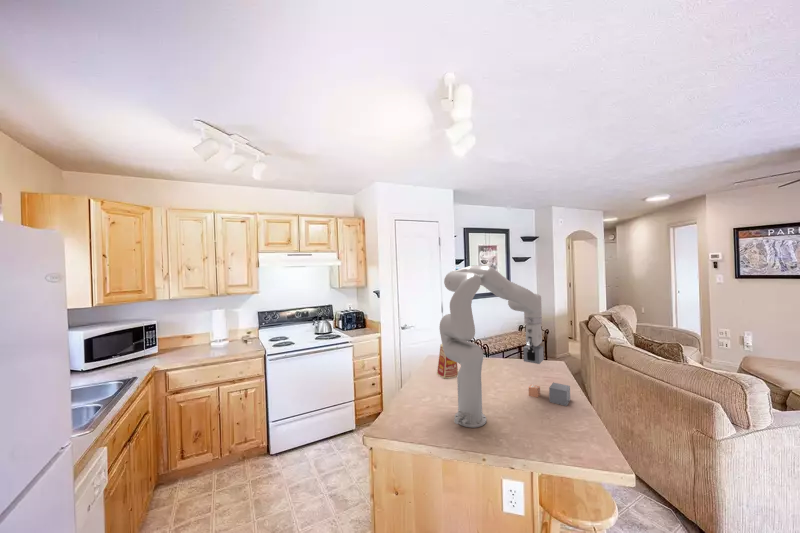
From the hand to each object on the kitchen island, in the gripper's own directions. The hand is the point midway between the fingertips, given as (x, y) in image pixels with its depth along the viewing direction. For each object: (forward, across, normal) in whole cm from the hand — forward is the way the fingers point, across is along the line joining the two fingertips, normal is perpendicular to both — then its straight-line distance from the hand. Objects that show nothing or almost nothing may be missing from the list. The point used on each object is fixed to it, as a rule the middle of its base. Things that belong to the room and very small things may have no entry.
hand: (533, 357), depth 150 cm
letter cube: (+18, 0, 0) cm, 18 cm away
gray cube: (+1, 0, 0) cm, 1 cm away
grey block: (+18, 0, -11) cm, 21 cm away
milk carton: (+18, -1, +46) cm, 49 cm away
